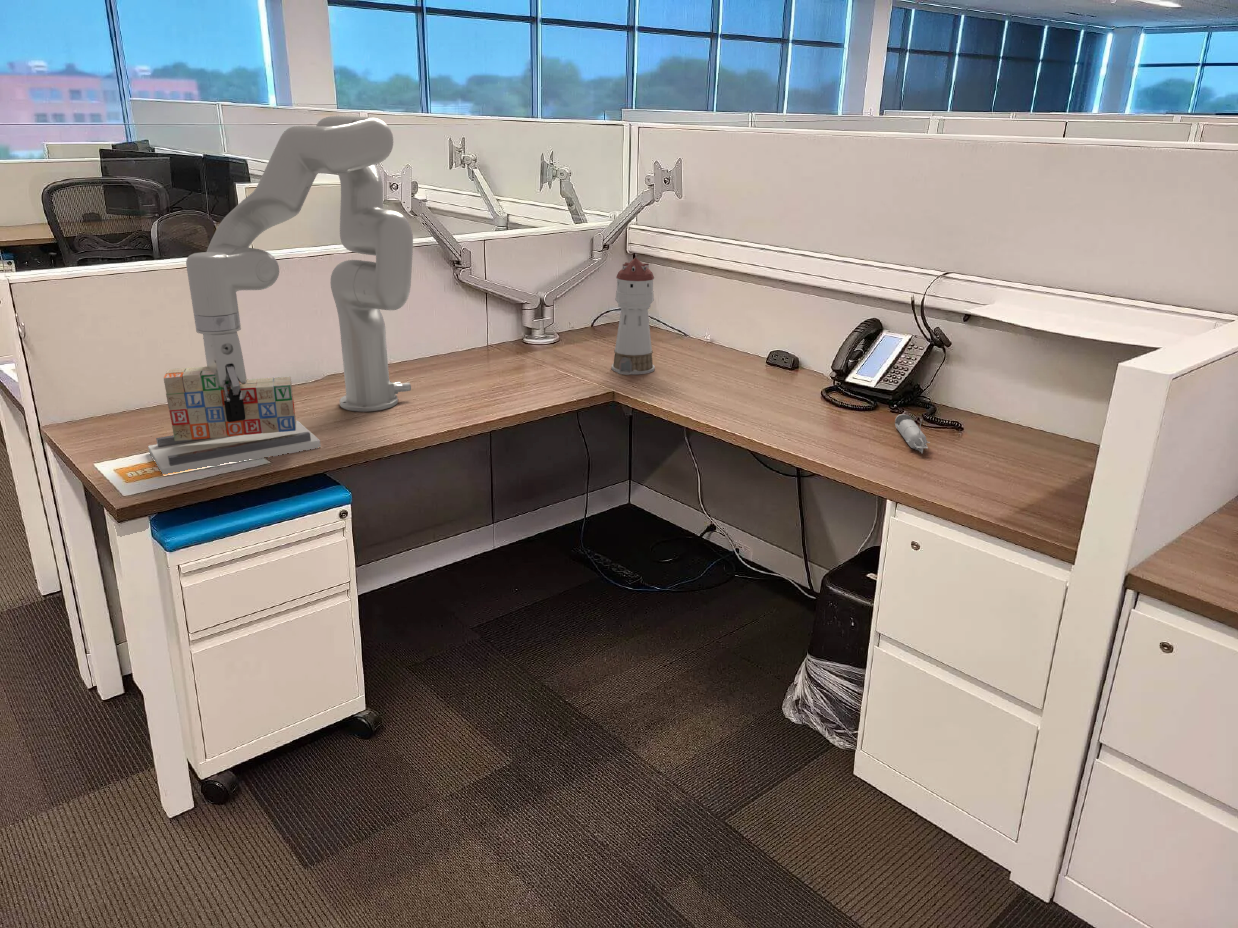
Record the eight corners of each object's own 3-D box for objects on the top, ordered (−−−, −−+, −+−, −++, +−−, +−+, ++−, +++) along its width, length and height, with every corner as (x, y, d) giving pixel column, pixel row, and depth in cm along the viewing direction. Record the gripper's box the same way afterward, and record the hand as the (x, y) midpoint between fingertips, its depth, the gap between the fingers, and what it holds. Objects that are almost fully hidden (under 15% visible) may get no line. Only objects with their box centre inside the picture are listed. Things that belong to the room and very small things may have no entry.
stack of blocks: (296, 421, 176) (289, 361, 172) (296, 431, 171) (289, 369, 166) (177, 430, 170) (167, 367, 165) (173, 441, 164) (162, 376, 160)
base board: (298, 427, 184) (297, 413, 183) (320, 447, 174) (319, 433, 173) (149, 453, 169) (146, 438, 168) (163, 476, 159) (160, 461, 158)
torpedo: (888, 427, 193) (892, 398, 191) (910, 428, 193) (915, 398, 191) (909, 456, 176) (914, 425, 174) (934, 457, 176) (939, 426, 174)
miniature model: (655, 364, 237) (660, 249, 226) (652, 376, 226) (656, 256, 215) (614, 362, 238) (616, 247, 227) (608, 374, 227) (610, 254, 216)
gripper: (251, 329, 158) (264, 424, 164) (227, 311, 171) (239, 400, 178) (206, 334, 154) (220, 431, 160) (185, 315, 167) (199, 406, 173)
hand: (230, 414), depth 169 cm, fingers closed on stack of blocks, 7 cm apart
